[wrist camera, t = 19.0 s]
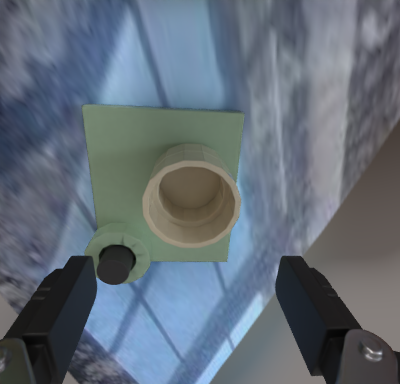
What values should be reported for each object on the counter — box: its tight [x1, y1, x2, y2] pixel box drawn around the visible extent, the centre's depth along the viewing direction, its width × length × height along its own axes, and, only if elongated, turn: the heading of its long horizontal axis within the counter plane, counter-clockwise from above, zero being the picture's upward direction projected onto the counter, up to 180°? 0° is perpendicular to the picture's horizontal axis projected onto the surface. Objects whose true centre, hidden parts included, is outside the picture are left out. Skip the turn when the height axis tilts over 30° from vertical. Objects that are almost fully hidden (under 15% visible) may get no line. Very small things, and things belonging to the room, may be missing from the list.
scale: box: [82, 104, 244, 283], centre depth 22 cm, size 13×15×3 cm
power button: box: [96, 245, 133, 285], centre depth 22 cm, size 3×3×2 cm
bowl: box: [142, 143, 241, 248], centre depth 19 cm, size 6×6×5 cm
